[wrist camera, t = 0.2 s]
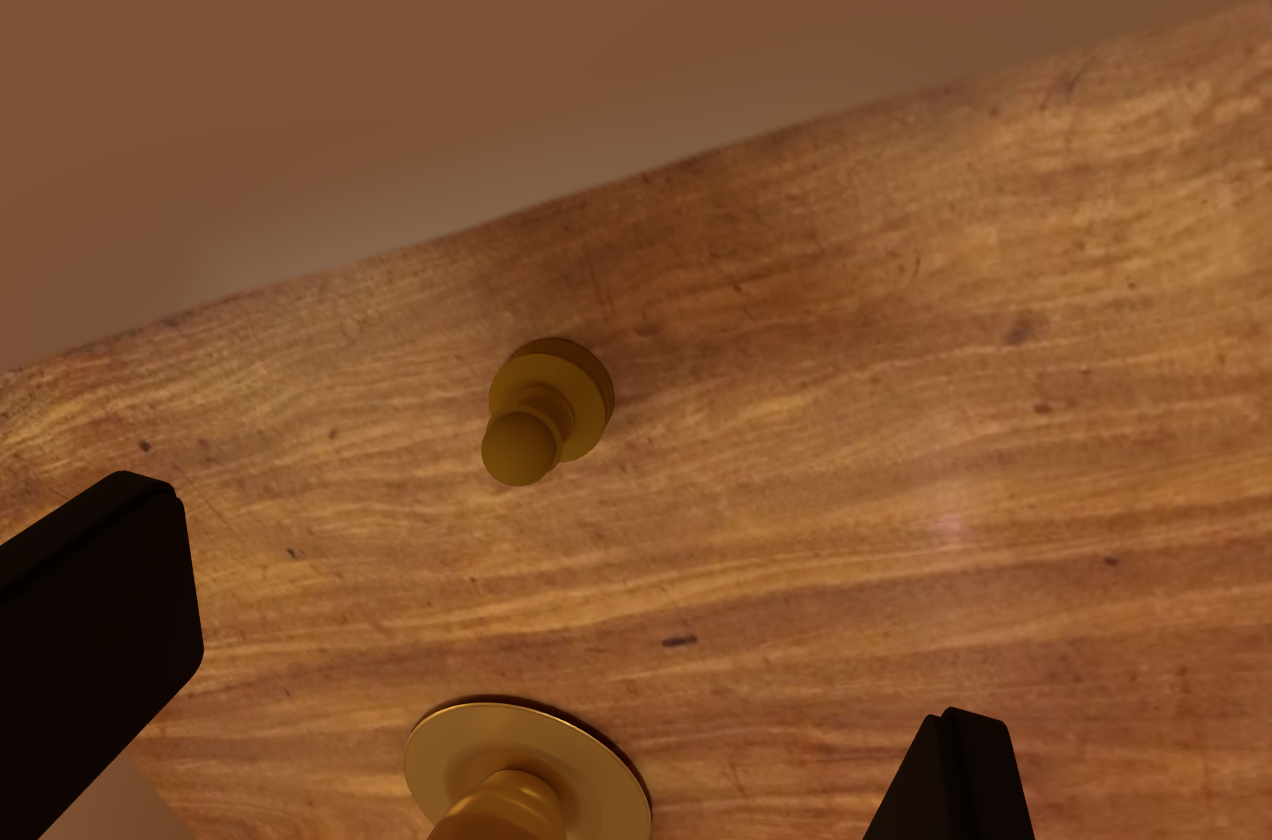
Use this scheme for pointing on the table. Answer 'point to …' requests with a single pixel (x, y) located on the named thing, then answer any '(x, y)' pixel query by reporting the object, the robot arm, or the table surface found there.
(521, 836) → the cup
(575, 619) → the table surface
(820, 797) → the table surface
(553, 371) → the chess piece
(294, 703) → the table surface
